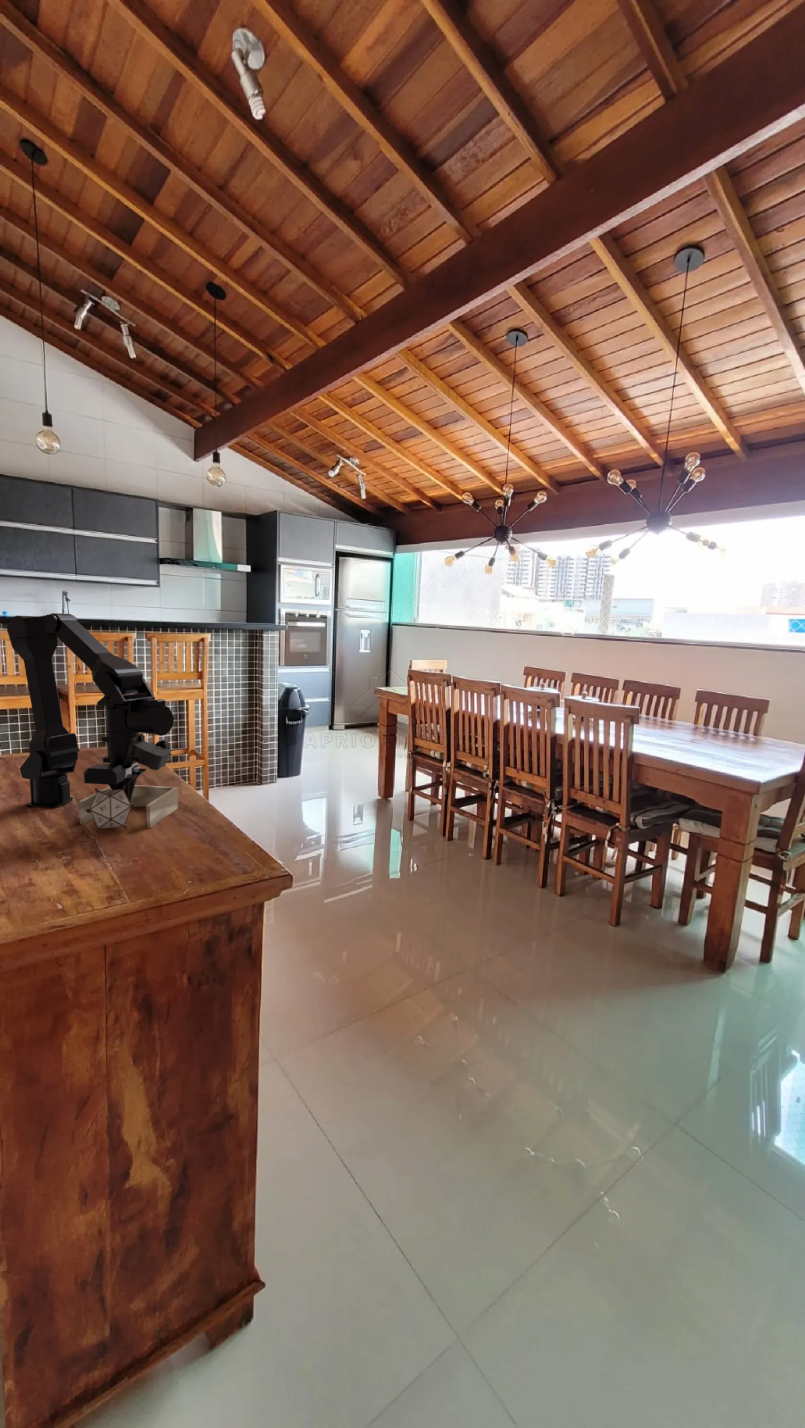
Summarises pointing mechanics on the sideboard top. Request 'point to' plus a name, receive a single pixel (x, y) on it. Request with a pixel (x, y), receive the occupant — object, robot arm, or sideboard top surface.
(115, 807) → the game die
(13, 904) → the sideboard top surface
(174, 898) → the sideboard top surface
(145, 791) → the cubby
